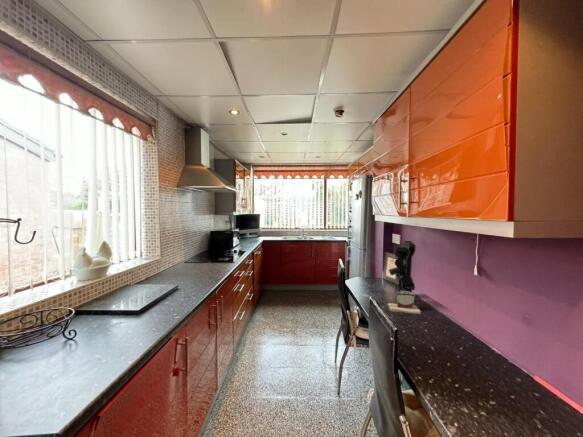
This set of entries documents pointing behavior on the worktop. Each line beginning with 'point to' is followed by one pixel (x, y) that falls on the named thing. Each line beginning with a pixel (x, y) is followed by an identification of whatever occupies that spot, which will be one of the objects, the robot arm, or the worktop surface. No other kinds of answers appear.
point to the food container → (405, 299)
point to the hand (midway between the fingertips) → (401, 286)
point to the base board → (403, 309)
